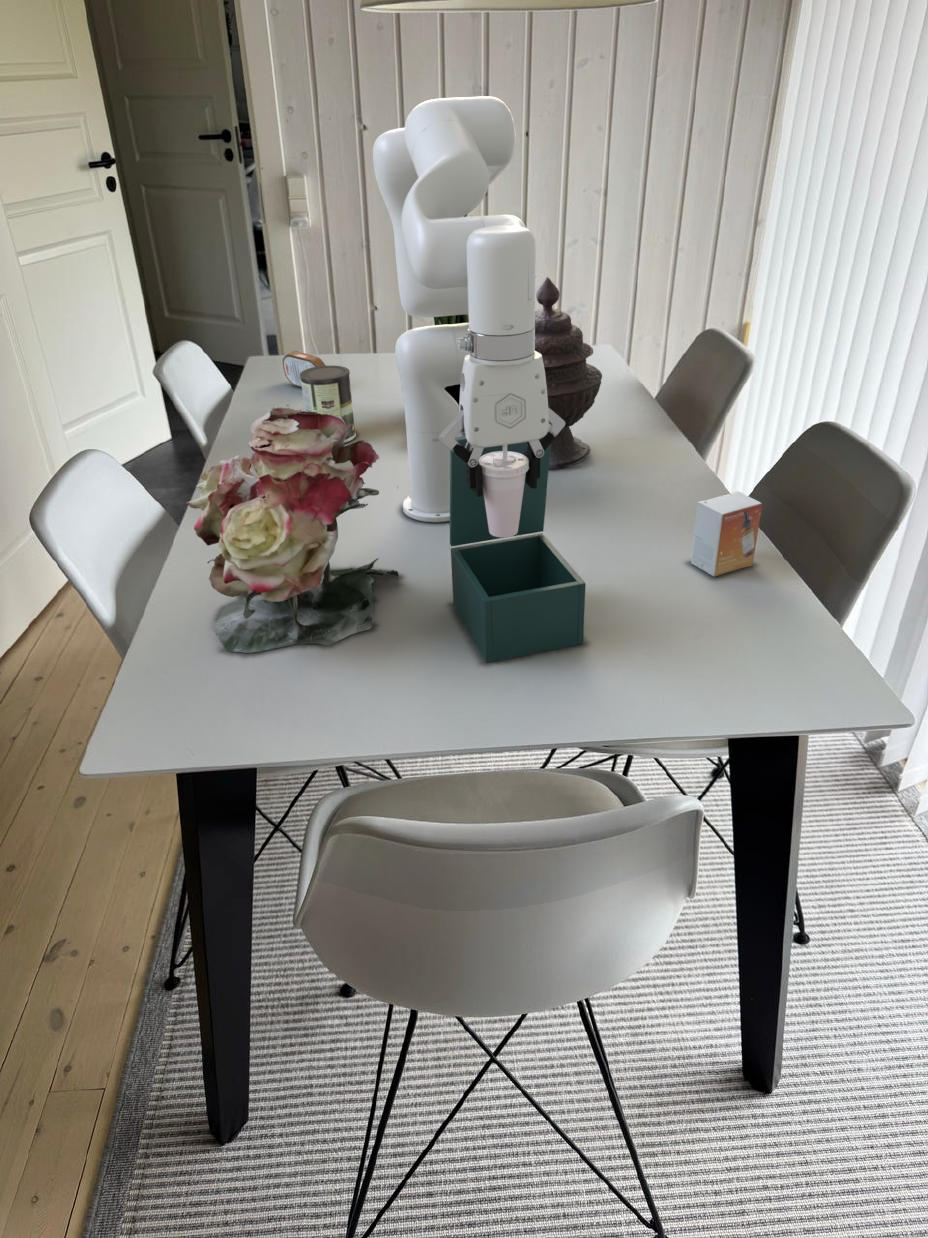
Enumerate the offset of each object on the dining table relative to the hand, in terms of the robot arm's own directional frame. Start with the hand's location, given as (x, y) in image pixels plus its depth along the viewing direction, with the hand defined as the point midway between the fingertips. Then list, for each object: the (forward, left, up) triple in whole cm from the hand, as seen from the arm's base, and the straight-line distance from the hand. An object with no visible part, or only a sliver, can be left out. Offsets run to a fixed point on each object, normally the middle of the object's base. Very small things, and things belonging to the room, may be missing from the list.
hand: (503, 487), depth 113 cm
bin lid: (-5, -8, -4) cm, 10 cm away
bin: (-3, -2, -22) cm, 22 cm away
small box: (-39, +2, -22) cm, 45 cm away
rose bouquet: (+21, -23, -22) cm, 38 cm away
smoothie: (0, 0, -6) cm, 6 cm away
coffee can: (-14, -87, -22) cm, 91 cm away
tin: (-24, -123, -22) cm, 127 cm away
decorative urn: (-44, -50, -22) cm, 70 cm away
